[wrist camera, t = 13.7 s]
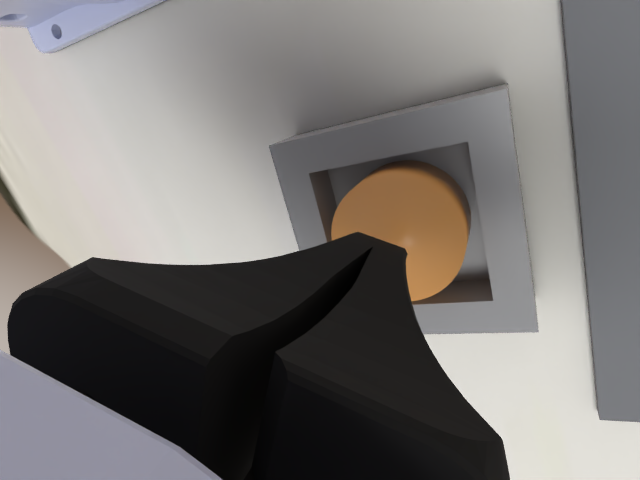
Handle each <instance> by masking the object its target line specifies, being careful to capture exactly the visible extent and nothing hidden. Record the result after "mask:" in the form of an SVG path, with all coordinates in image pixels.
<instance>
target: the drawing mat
mask: <svg viewBox="0 0 640 480" xmlns="http://www.w3.org/2000/svg"><path fill="white" fill-rule="evenodd" d="M561 8H562V19H563V30H564V41H565V53H566V64H567V75H568V86H569V97H570V108H571V119H572V130H573V142H574V153H575V164H576V175H577V186H578V197H579V208H580V219H581V230H582V242H583V253H584V264H585V275H586V286H587V297H588V308H589V319H590V330H591V342H592V353H593V364H594V375H595V386H596V397H597V408H598V415H599V419H600V420H611V421H629V422H640V0H561Z"/></svg>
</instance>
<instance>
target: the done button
mask: <svg viewBox="0 0 640 480" xmlns="http://www.w3.org/2000/svg"><path fill="white" fill-rule="evenodd" d="M470 229H471V211H470V207H469V203H468V200H467V198H466V196H465V194H464V192H463V190H462V189H461V187H460V186H459V185H458V183H457V182H456V181H455V180H454V179H453V178H452V177H451V176H450V175H448V174H447V173H446V172H444V171H443V170H441V169H439V168H438V167H436V166H433V165H431V164H428V163H425V162H421V161H414V160H402V161H395V162H391V163H388V164H385V165H383V166H381V167H379V168H377V169H375V170H374V171H373V172H371V173H370V174H369V175H368V176H366V177H365V178H364V179H363V180H362V181H361V182H360V183H358V184H357V185H356V186H355V187H354V188H353V189H352V190H351V191H349V192H348V193H347V195H346V196H345V197H344V198H343V199H342V201H341V202H340V203H339V205H338V207H337V209H336V211H335V214H334V217H333V221H332V229H331V237H332V240H335V239H338V238H340V237H343V236H346V235H349V234H352V233H355V232H361V233H363V234H366V235H369V236H372V237H375V238H377V239H380V240H383V241H386V242H389V243H391V244H394V245H397V246H400V247H402V248H405V249H406V252H407V254H408V255H407V258H406V275H407V282H408V288H409V293H410V297H411V301H417V300H422V299H425V298H428V297H431V296H433V295H435V294H437V293H438V292H440V291H441V290H443V289H444V288H446V287H447V286H448V285H449V284H450V283H451V282H452V281H453V279H454V278H455V277H456V275H457V274H458V272H459V270H460V268H461V266H462V263H463V260H464V256H465V252H466V247H467V243H468V238H469V234H470Z"/></svg>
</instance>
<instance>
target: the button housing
mask: <svg viewBox="0 0 640 480" xmlns="http://www.w3.org/2000/svg"><path fill="white" fill-rule="evenodd" d="M269 148H270V151H271V155H272V158H273V162H274V165H275V169H276V172H277V175H278V179H279V182H280V186H281V189H282V193H283V196H284V199H285V203H286V206H287V210H288V213H289V216H290V220H291V223H292V227H293V230H294V234H295V237H296V240H297V244H298V247H299V251H301V250H305V249H308V248H312V247H315V246H318V245H321V244H324V243H326V242H329V241H332V237H331V229H332V221H333V217H334V214H335V211H336V209H337V207H338V205H339V203H340V202H341V201H342V199H343V198H344V197H345V196H346V195H347V193H348V192H349V191H351V190H352V189H353V188H354V187H355V186H356V185H357V184H358V183H360V182H361V181H362V180H363V179H364V178H365V177H366V176H368V175H369V174H370V173H371V172H373V171H374V170H375V169H377V168H379V167H381V166H383V165H385V164H388V163H391V162H395V161H402V160H414V161H421V162H425V163H428V164H431V165H433V166H436V167H438V168H439V169H441V170H443V171H444V172H446V173H447V174H448V175H450V176H451V177H452V178H453V179H454V180H455V181H456V182H457V183H458V185H459V186H460V187H461V189H462V190H463V192H464V194H465V196H466V198H467V200H468V203H469V207H470V211H471V229H470V234H469V238H468V243H467V247H466V252H465V256H464V260H463V263H462V266H461V268H460V270H459V272H458V274H457V275H456V277H455V278H454V279H453V281H452V282H451V283H450V284H449V285H448V286H447V287H446V288H444V289H443V290H441V291H440V292H438V293H437V294H435V295H433V296H431V297H428V298H425V299H422V300H417V301H412V305H413V308H414V312H415V315H416V318H417V321H418V323H419V326H420V328H421V331H422V333H423V334H461V333H515V332H538V322H537V312H536V302H535V293H534V286H533V278H532V270H531V262H530V254H529V247H528V239H527V231H526V223H525V216H524V208H523V200H522V192H521V184H520V177H519V169H518V161H517V153H516V146H515V138H514V130H513V122H512V115H511V107H510V99H509V91H508V83H507V84H503V85H499V86H494V87H490V88H486V89H482V90H478V91H474V92H470V93H466V94H462V95H458V96H454V97H450V98H446V99H442V100H438V101H433V102H429V103H425V104H421V105H417V106H413V107H409V108H405V109H401V110H397V111H393V112H389V113H385V114H381V115H377V116H372V117H368V118H364V119H360V120H356V121H352V122H348V123H344V124H340V125H336V126H332V127H328V128H324V129H320V130H315V131H311V132H307V133H303V134H299V135H295V136H293V137H290V138H288V139H285V140H283V141H280V142H278V143H275V144H273V145H270V146H269Z"/></svg>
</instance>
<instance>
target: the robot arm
mask: <svg viewBox="0 0 640 480" xmlns="http://www.w3.org/2000/svg"><path fill="white" fill-rule="evenodd" d="M163 1H166V0H0V26H3V27H25V28H28V31H29V33H30V35H31V38H32V40H33V43H34V44H35V46H36V48H37V49H38V50H39V51H40V52H42V53H54V52H56V51H58V50H61V49H63V48H65V47H67V46H69V45H71V44H73V43H76V42H78V41H80V40H82V39H84V38H86V37H88V36H91V35H93V34H95V33H97V32H99V31H101V30H103V29H106V28H108V27H110V26H112V25H114V24H116V23H118V22H121V21H123V20H125V19H127V18H129V17H131V16H133V15H136V14H138V13H140V12H142V11H144V10H146V9H148V8H151V7H153V6H155V5H157V4H159V3H161V2H163ZM60 29H61V32H62V35H61V32H60ZM407 255H408V254H407V252H406V249H405V248H402V247H400V246H397V245H394V244H391V243H389V242H386V241H383V240H380V239H377V238H375V237H372V236H369V235H366V234H363V233H361V232H355V233H352V234H349V235H346V236H343V237H340V238H338V239H335V240H332V241H329V242H326V243H324V244H321V245H318V246H315V247H312V248H308V249H305V250H301V251H297V252H294V253H290V254H286V255H283V256H278V257H273V258H268V259H262V260H256V261H249V262H241V263H227V264H212V265H166V264H148V263H138V262H128V261H119V260H110V259H101V258H94V257H92V258H90V259H88V260H86V261H84V262H82V263H80V264H78V265H76V266H74V267H73V268H71V269H69V270H67V271H65V272H63V273H61V274H59V275H57V276H55V277H53V278H51V279H49V280H47V281H45V282H43V283H41V284H39V285H37V286H35V287H33V288H31V289H29V290H27V291H25V292H23V293H22V294H21V295H20V296H19V297H18V299H17V300H16V301H15V302H14V303H13V305H12V309H11V312H10V315H9V319H8V342H9V348H10V354H11V355H9V354H7V353H5V352H3V351H1V350H0V480H510V477H509V471H508V465H507V460H506V455H505V450H504V445H503V441H502V438H501V437H500V436H499V435H498V434H497V433H496V432H495V431H494V430H493V428H492V427H491V426H490V425H489V424H488V423H487V422H486V421H485V420H484V419H483V418H482V417H481V416H480V415H479V413H478V412H477V411H476V410H475V409H474V408H473V407H472V406H471V405H470V404H469V403H468V402H467V400H466V399H465V398H464V397H463V396H462V394H461V393H460V392H459V390H458V389H457V388H456V387H455V385H454V384H453V383H452V381H451V380H450V379H449V378H448V376H447V375H446V373H445V372H444V370H443V369H442V367H441V366H440V364H439V363H438V361H437V359H436V358H435V356H434V354H433V353H432V351H431V349H430V348H429V346H428V344H427V342H426V340H425V337H424V335H423V333H422V331H421V328H420V326H419V323H418V321H417V318H416V315H415V312H414V308H413V305H412V301H411V297H410V293H409V288H408V282H407V275H406V258H407Z"/></svg>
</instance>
